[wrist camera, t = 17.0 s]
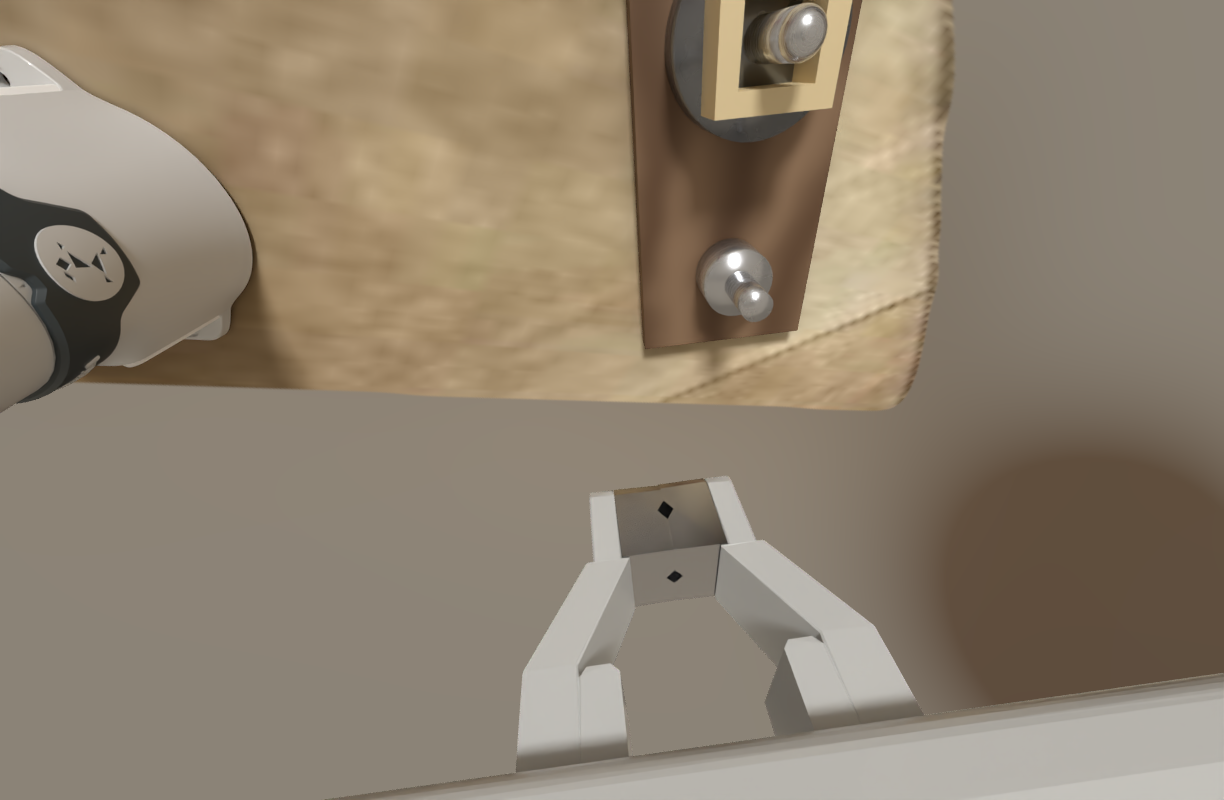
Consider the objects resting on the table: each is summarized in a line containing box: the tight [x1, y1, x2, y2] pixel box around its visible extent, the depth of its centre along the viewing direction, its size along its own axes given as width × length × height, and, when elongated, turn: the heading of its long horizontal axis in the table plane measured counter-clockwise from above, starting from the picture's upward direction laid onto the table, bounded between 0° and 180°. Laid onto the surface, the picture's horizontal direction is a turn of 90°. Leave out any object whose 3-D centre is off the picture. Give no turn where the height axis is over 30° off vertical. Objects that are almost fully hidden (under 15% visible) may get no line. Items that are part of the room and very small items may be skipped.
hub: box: [664, 0, 853, 142], centre depth 23 cm, size 10×10×9 cm
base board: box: [626, 0, 862, 349], centre depth 32 cm, size 14×28×2 cm, turn 5°
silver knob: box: [696, 238, 773, 322], centre depth 33 cm, size 5×5×7 cm
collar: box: [701, 0, 852, 121], centre depth 23 cm, size 7×7×3 cm
